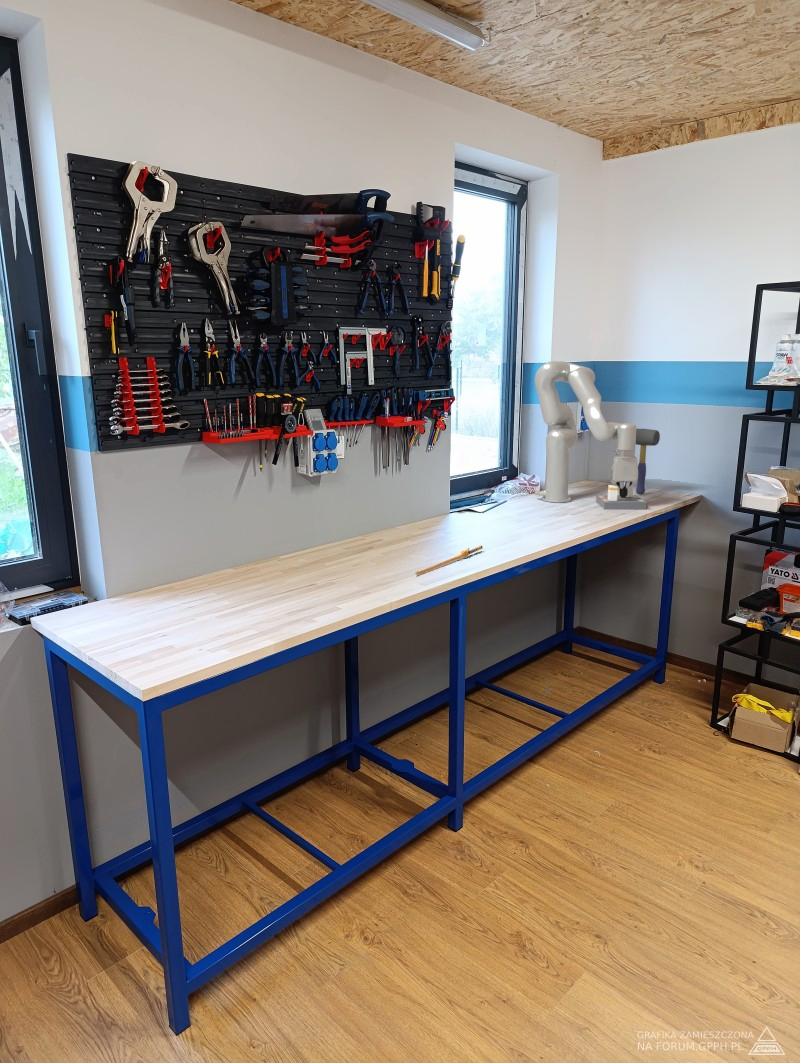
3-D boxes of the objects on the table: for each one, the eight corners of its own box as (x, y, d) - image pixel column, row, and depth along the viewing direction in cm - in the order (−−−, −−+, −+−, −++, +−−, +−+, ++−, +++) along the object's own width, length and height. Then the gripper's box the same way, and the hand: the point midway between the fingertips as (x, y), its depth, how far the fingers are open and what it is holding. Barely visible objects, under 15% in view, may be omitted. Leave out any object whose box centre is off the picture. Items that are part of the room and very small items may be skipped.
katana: (413, 579, 209) (413, 571, 208) (479, 550, 235) (479, 542, 234) (417, 580, 208) (417, 571, 207) (482, 551, 234) (482, 543, 233)
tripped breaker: (609, 500, 299) (610, 486, 298) (607, 499, 303) (608, 484, 302) (617, 500, 299) (617, 486, 297) (614, 499, 303) (615, 484, 301)
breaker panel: (604, 509, 298) (605, 487, 296) (596, 501, 314) (597, 481, 311) (645, 509, 297) (647, 487, 295) (635, 502, 312) (637, 481, 310)
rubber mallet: (623, 494, 331) (627, 428, 324) (631, 491, 336) (635, 427, 329) (649, 497, 323) (654, 430, 316) (656, 495, 328) (661, 428, 321)
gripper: (609, 455, 293) (607, 499, 297) (646, 454, 292) (643, 499, 296) (605, 452, 300) (603, 496, 304) (641, 452, 299) (638, 495, 304)
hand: (623, 497), depth 300 cm, fingers closed
